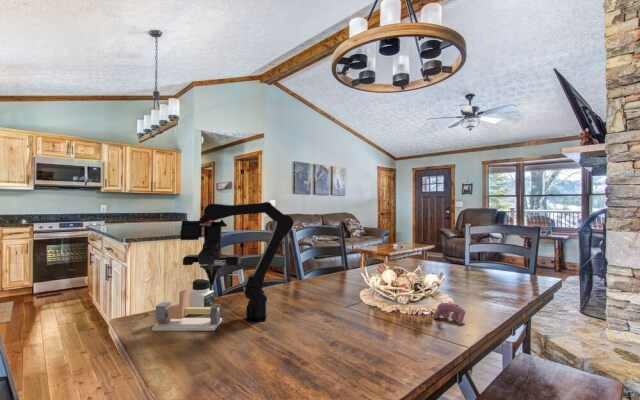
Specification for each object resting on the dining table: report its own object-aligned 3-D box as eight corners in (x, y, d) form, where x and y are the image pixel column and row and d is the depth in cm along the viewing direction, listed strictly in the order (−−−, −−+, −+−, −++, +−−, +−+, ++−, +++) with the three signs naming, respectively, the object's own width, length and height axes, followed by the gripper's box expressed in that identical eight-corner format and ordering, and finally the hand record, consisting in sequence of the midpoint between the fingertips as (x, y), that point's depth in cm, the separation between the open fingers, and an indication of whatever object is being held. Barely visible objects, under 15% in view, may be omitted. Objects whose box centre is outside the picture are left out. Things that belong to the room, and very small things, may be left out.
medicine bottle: (204, 314, 123) (204, 282, 123) (186, 313, 124) (187, 281, 124) (214, 308, 130) (214, 278, 130) (197, 307, 131) (197, 277, 131)
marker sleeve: (189, 313, 115) (189, 287, 115) (182, 319, 109) (182, 292, 109) (177, 313, 115) (177, 287, 115) (169, 319, 109) (170, 292, 109)
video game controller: (464, 327, 116) (467, 307, 118) (460, 324, 113) (463, 304, 115) (436, 320, 123) (440, 301, 125) (432, 317, 120) (435, 298, 122)
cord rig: (222, 320, 117) (222, 300, 117) (214, 330, 108) (214, 308, 108) (164, 320, 116) (164, 300, 116) (152, 330, 107) (152, 308, 107)
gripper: (176, 242, 107) (175, 290, 107) (234, 242, 107) (233, 291, 107) (189, 238, 118) (188, 282, 118) (241, 238, 118) (241, 282, 118)
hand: (212, 284), depth 115 cm, fingers closed
